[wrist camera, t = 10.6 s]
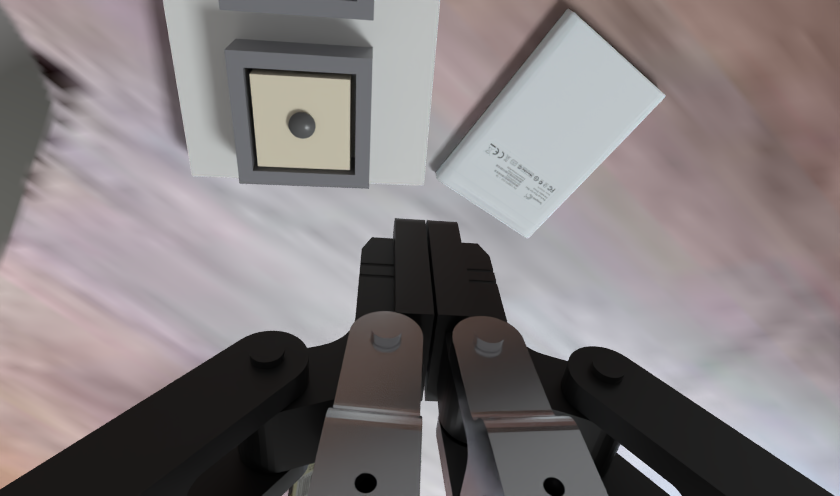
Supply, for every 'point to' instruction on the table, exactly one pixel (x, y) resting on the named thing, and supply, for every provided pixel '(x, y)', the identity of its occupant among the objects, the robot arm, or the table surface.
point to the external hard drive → (549, 127)
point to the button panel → (316, 52)
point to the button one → (302, 118)
